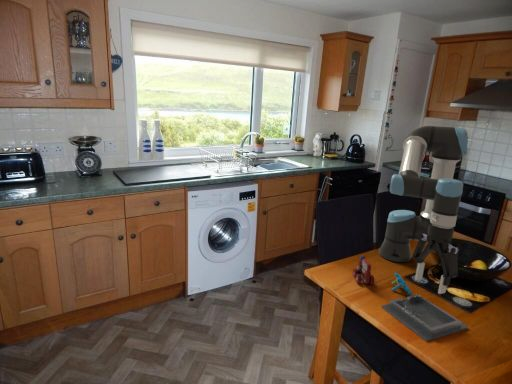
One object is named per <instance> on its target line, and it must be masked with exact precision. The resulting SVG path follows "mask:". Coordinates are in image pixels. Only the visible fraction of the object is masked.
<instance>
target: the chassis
mask: <svg viewBox="0 0 512 384" xmlns="http://www.w3.org/2000/svg"><path fill="white" fill-rule="evenodd" d="M381 309H383V310H384V311H385V312H387V313H389V314H390V315H391V316H392V317H393V318H395V319H396V320H398V321H399V322H400V323H401V324H402V325H404V326H405V327H406V328H408V329H409V330H410V331H412V332H413V333H415V335H417V336H418V337H420V338H421V339H422V340H424V341H425V342H430V341H432V340H436V339H439V338H442V337H446V336H449V335H452V334H456V333H458V332H462V331H466V330H468V329H469V326H468V325H467V324H465V323H463V321H461V320H459V319H458V318H457V317H455V316H453V315H451V313H449V312H448V311H446V310H444V309H442V308H441V307H440V306H437V305H436V304H434V303H432V302H431V301H429V300H428V299H427V298H425V297H424V296H422V295H420V294H418V293H417V294H412V295H409V296H407V297H406V299H404V298H403V297H401V298H395V299H391V300H389V303H387V304H382V305H381Z"/></svg>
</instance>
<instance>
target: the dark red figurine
mask: <svg viewBox="0 0 512 384" xmlns="http://www.w3.org/2000/svg"><path fill="white" fill-rule="evenodd" d="M371 270H372V265H371V263H370V262H369V261H368V259H367V258H366V256H365V255H360V257H359V260H358V262H357V268H353V269H352V276H353V277H354V279H355V282H356V284H359V285H361V284H362V282H363V283H364V284H368V285H372V286H373V285H375V277H374V275H373V274H372V273H371Z"/></svg>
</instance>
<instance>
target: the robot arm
mask: <svg viewBox="0 0 512 384" xmlns="http://www.w3.org/2000/svg"><path fill="white" fill-rule="evenodd" d="M402 149H403V154H402V158H401V162H400V167H399V170H398V174H396V173H394V174H392V176H391V179H390V184H389V192H390V194H393V195H396V196H397V195H398V196H401V197H402V196H403V197H408V198H409V197H410V198H417V199H423V200H426V202H425V208H424V210H423V211H421V212H420V214H419V215H416V212H415V211H412V210H407V209H397V210H395V209H394V210H392V211H390V212H389V214H388V218H387V219H386V221H387V224H386V229H385V235H384V240H383V241H382V243H381V245H380V246H379V248H378V249H379V250H378V254H379V256H380V257H382V258H384V259H385V260H388V261H391V262H396V263H407V262H410V261H412V259H414V260H415V266H414V269H415V276H414V277H415V278H414V280H415V281H420V280H423V275H424V271H425V265H426V263H425V260H426V258H427V257H428V256H429V255H430V253H431V252H432V251H434V252H436V253H438V256H439V259H440V263H441V266H442V271H443V274H442V275H441V276H440V279H439V286H438V289H437V294H439V295H441V294H445V293H446V291H447V287H448V286H449V285H450V283H451V279H453V278H457V277H459V275H458V274H459V271H458V270H459V269H458V268H459V266H458V265H459V263H458V262H459V261H458V260H459V259H458V257H459V256H458V255H459V252H460V247H455V246H453V245H452V239H453V237H454V233H455V228H454V227H456V223H457V218H458V211H459V207H460V203H461V199H462V195H463V189H464V182H462V181H461V180H458V179H456V178H454V176H455V175H454V174H455V171H456V170H455V169H456V167H457V166H456V165H457V163H459V162H460V161H462V157H466V155H467V153H468V131H467V130H466V129H465V128H462V127H456V126H438V125H437V126H435V125H424V126H420V127H417V128H415V129H413V130H412V131H410V132H409V133H408V134H407V136H405V138H404V140H403V143H402ZM424 153H429V154H430V153H431V156H430V157H431V158H432V160H433V166H432V170H431V176H430V178H427V177H421V170H422V165H423V157H424ZM411 240H413V241H416V242H417V244H416V245H415V249H414V251H413V254H412V251H411ZM426 243H427V244H426Z"/></svg>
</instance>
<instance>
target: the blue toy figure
mask: <svg viewBox="0 0 512 384" xmlns="http://www.w3.org/2000/svg"><path fill="white" fill-rule="evenodd" d="M394 276H395V280H393V281H392V282H391V284H392V285H394V284H396V283H397V285H396V286H394V287H392V288H391V290H392V291H393V292H395V291H396V290H397V289H398V290H399V289H402V288H403V290H404V291H405V292H406V293H407V295H409V296H412V295H413V293H412V291H411V290H410V287H409V286H408V285H407V282H406V281H405V280H404V279H403V277H402V276H401V275H400V274H399V273H397V272H394Z"/></svg>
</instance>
